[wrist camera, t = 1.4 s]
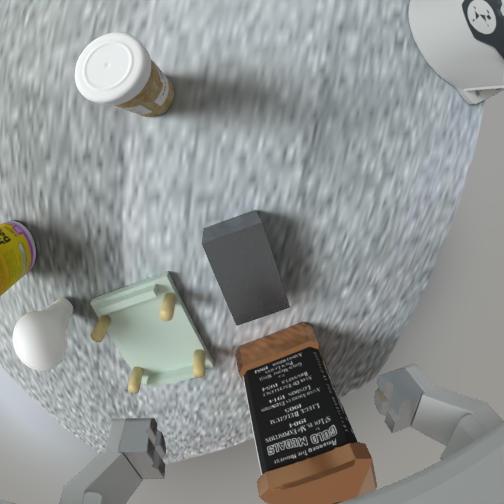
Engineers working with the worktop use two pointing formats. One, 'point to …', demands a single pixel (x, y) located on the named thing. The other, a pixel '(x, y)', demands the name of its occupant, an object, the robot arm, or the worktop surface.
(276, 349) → the whiskey bottle
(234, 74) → the worktop surface
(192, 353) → the tray
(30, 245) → the supplement bottle
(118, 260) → the worktop surface
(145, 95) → the sprinkles bottle
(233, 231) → the block
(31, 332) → the lightbulb
